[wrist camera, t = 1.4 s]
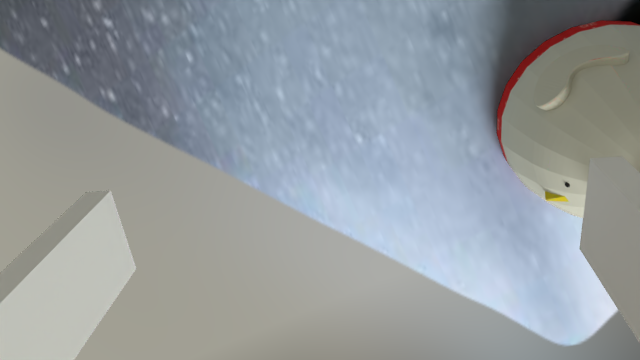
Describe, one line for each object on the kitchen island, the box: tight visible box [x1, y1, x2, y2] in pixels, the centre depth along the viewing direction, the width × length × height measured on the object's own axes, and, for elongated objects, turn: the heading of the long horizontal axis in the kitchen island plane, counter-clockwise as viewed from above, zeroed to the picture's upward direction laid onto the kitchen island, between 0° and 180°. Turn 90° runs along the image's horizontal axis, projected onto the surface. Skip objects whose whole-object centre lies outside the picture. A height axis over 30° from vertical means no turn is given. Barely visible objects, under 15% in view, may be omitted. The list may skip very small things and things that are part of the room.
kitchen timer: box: [497, 21, 640, 218], centre depth 33 cm, size 14×14×15 cm
